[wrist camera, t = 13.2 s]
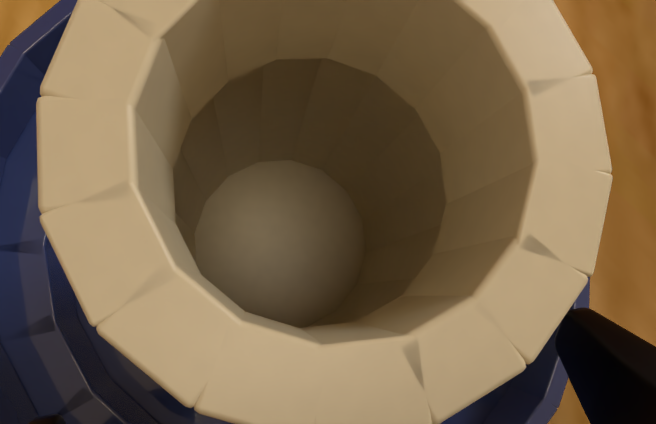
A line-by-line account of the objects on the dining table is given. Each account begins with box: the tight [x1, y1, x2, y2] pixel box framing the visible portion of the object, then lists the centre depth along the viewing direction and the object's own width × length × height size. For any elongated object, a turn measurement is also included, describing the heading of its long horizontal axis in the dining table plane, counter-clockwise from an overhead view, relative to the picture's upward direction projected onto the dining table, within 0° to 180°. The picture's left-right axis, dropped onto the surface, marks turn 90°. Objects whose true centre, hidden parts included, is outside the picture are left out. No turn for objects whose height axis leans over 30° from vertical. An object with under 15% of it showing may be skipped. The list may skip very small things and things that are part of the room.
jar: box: [36, 0, 613, 424], centre depth 12 cm, size 6×6×12 cm
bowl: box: [0, 0, 590, 424], centre depth 16 cm, size 17×17×4 cm
